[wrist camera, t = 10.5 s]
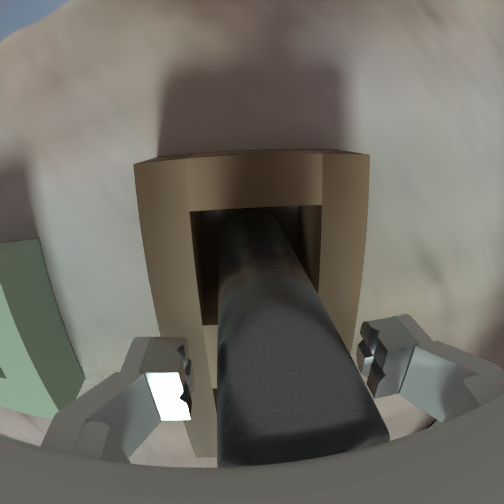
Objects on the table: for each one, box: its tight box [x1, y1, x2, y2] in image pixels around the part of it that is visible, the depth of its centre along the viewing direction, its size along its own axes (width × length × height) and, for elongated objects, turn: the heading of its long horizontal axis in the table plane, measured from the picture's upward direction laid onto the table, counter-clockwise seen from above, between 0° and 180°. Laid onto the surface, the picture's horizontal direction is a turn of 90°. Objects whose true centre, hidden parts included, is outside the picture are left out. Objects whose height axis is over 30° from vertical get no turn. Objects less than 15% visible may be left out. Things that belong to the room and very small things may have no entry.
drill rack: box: [134, 149, 370, 457], centre depth 18 cm, size 10×20×4 cm, turn 2°
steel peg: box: [217, 210, 390, 468], centre depth 12 cm, size 4×4×14 cm
